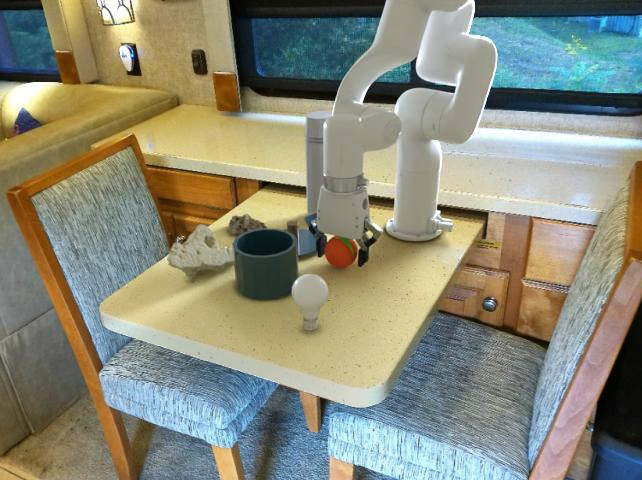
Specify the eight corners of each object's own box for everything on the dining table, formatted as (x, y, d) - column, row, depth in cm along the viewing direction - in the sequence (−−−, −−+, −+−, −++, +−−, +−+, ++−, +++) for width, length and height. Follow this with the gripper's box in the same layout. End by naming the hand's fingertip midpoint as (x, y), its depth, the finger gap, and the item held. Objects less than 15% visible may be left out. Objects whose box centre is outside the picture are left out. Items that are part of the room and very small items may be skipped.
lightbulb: (286, 326, 109) (283, 273, 103) (315, 315, 111) (314, 263, 105) (305, 343, 104) (303, 289, 98) (335, 331, 106) (335, 278, 100)
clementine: (367, 270, 124) (368, 239, 120) (339, 279, 122) (339, 248, 118) (344, 255, 130) (345, 225, 126) (318, 263, 128) (317, 233, 124)
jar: (309, 276, 123) (308, 235, 118) (277, 306, 114) (275, 263, 109) (258, 263, 129) (255, 223, 124) (224, 291, 120) (219, 249, 115)
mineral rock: (218, 224, 142) (237, 204, 146) (222, 237, 145) (241, 218, 149) (253, 235, 136) (273, 214, 140) (257, 249, 140) (276, 228, 143)
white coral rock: (224, 258, 136) (166, 227, 130) (242, 241, 132) (183, 207, 125) (214, 310, 127) (152, 279, 120) (234, 294, 122) (169, 260, 115)
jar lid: (334, 239, 137) (334, 216, 134) (305, 265, 127) (304, 241, 124) (283, 228, 143) (282, 206, 140) (252, 252, 134) (250, 229, 131)
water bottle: (305, 223, 145) (302, 119, 132) (308, 209, 152) (305, 110, 138) (343, 223, 144) (344, 119, 130) (344, 210, 150) (345, 109, 137)
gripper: (392, 181, 114) (387, 260, 123) (312, 168, 122) (314, 244, 132) (376, 195, 109) (373, 277, 118) (294, 180, 117) (297, 258, 126)
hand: (342, 259), depth 125 cm, fingers open, 8 cm apart
